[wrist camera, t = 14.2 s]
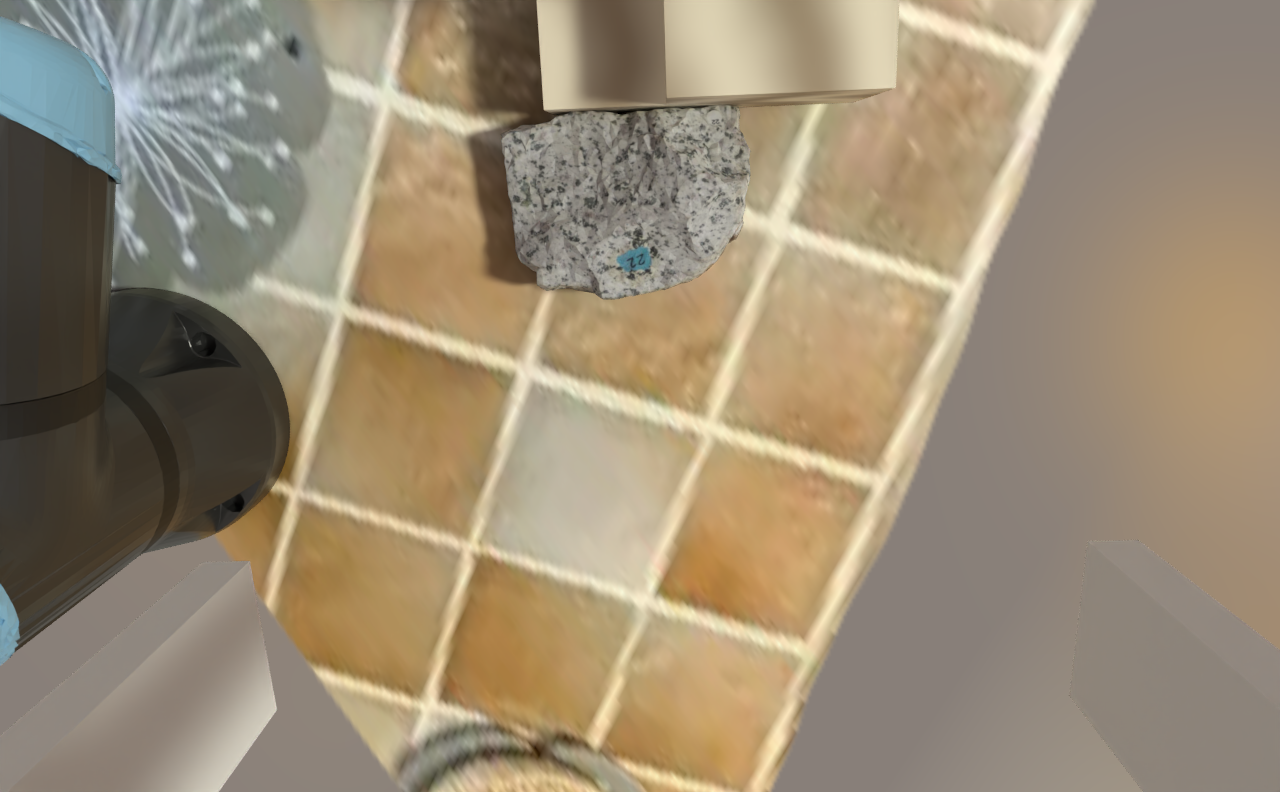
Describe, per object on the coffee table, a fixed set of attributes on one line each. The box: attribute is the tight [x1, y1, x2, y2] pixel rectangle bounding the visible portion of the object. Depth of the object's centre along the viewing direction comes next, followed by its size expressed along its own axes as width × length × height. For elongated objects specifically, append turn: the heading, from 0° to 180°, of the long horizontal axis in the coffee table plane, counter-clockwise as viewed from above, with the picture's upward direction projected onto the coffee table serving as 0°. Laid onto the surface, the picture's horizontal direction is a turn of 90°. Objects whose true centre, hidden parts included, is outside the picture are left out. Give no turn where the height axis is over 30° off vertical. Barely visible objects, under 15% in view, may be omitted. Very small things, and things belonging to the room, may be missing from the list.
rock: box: [501, 105, 750, 300], centre depth 43 cm, size 13×10×5 cm
